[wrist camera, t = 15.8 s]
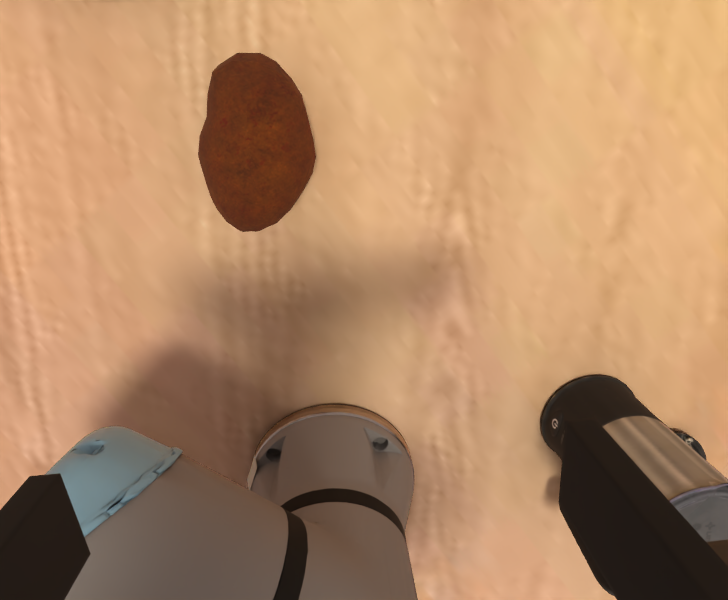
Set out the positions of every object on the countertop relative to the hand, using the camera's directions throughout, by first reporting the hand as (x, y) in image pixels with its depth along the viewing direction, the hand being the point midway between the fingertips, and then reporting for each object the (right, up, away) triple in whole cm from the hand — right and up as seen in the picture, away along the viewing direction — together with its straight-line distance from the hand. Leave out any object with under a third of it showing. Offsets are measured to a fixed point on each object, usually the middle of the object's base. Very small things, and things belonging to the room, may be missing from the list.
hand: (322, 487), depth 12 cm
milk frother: (+26, -8, +33) cm, 43 cm away
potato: (-6, +16, +22) cm, 28 cm away
